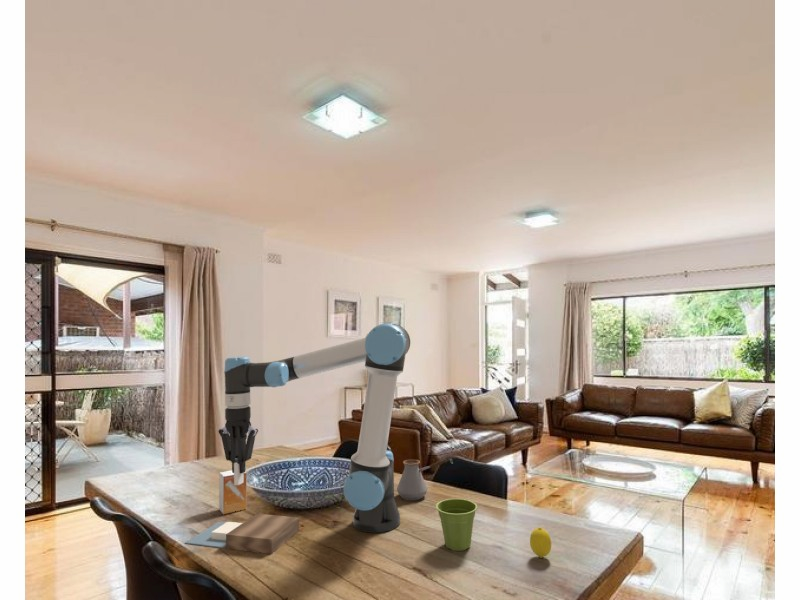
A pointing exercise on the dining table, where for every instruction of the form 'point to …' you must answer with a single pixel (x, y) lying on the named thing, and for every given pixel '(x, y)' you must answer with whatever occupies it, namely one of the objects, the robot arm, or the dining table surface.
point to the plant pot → (457, 522)
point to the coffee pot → (414, 480)
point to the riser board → (262, 533)
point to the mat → (208, 538)
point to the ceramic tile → (224, 530)
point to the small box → (231, 493)
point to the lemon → (540, 542)
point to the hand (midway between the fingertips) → (239, 483)
